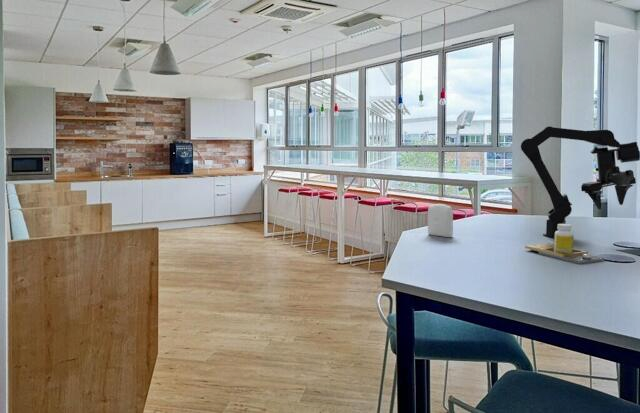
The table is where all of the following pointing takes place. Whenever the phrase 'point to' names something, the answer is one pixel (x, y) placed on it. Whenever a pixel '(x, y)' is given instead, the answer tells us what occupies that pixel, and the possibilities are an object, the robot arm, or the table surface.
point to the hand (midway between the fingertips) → (610, 206)
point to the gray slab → (574, 257)
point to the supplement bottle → (563, 239)
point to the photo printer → (440, 220)
